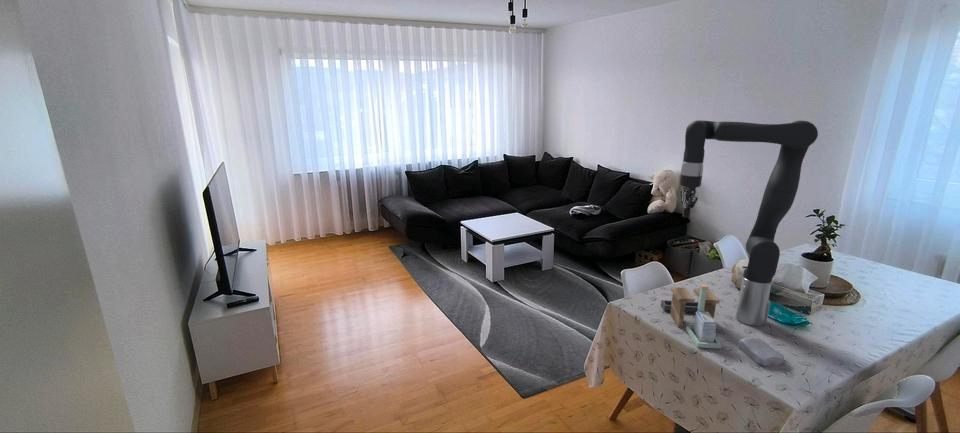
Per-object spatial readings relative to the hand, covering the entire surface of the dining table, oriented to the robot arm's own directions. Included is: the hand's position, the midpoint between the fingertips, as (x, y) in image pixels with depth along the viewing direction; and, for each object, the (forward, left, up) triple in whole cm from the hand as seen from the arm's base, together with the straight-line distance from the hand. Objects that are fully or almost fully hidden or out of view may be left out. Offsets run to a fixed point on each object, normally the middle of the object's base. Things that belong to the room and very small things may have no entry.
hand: (685, 217), depth 171 cm
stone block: (-17, +37, -38) cm, 55 cm away
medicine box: (-1, +28, -37) cm, 47 cm away
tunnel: (-1, +16, -37) cm, 40 cm away
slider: (-1, +29, -37) cm, 47 cm away
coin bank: (-38, -22, -37) cm, 57 cm away
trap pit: (-1, +6, -37) cm, 37 cm away
